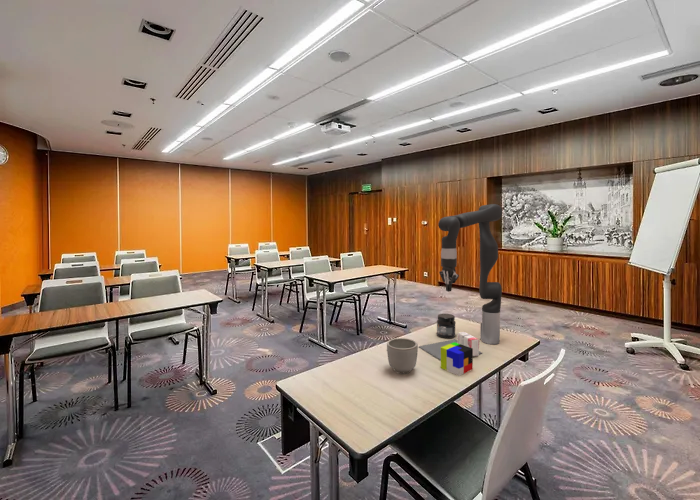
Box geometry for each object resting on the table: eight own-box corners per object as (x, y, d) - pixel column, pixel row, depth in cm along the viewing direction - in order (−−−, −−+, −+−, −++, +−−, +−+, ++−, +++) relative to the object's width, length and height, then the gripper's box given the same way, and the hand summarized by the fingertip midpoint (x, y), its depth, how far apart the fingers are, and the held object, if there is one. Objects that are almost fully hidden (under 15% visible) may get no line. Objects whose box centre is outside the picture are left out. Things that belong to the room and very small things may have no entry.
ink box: (479, 338, 169) (465, 331, 180) (470, 340, 167) (457, 332, 179) (479, 355, 169) (465, 347, 181) (470, 357, 168) (457, 348, 180)
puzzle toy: (458, 376, 151) (459, 354, 150) (440, 368, 159) (440, 347, 158) (472, 369, 156) (472, 348, 155) (454, 362, 165) (454, 342, 163)
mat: (418, 347, 184) (418, 346, 183) (455, 340, 192) (455, 339, 192) (443, 362, 164) (443, 361, 164) (482, 353, 173) (482, 352, 173)
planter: (381, 367, 160) (381, 340, 159) (406, 361, 166) (406, 335, 165) (397, 380, 148) (397, 351, 146) (424, 373, 153) (423, 345, 152)
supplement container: (451, 332, 205) (451, 312, 204) (458, 338, 195) (458, 318, 194) (434, 333, 205) (434, 313, 203) (440, 339, 194) (440, 318, 193)
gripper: (434, 256, 176) (434, 289, 178) (451, 259, 164) (451, 294, 165) (446, 255, 179) (446, 288, 180) (463, 258, 166) (463, 293, 168)
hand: (448, 291), depth 173 cm, fingers closed
